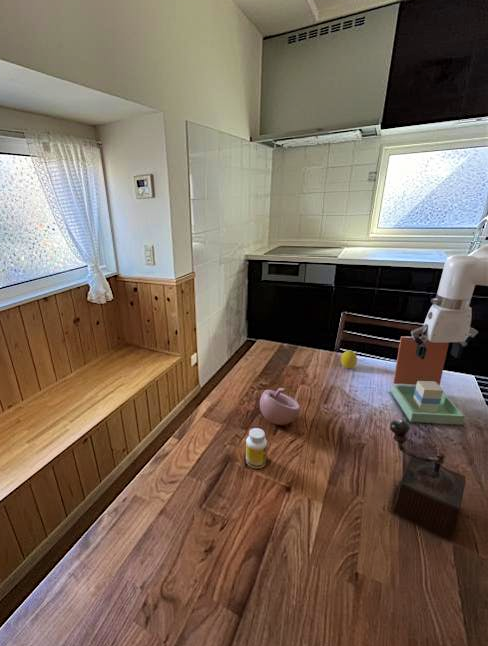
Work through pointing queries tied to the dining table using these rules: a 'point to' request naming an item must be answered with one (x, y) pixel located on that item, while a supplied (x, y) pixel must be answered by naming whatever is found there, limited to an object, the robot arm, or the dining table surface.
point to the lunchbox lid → (419, 362)
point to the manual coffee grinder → (427, 489)
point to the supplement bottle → (256, 448)
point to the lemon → (348, 359)
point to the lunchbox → (444, 414)
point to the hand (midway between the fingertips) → (437, 356)
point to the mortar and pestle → (278, 407)
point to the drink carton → (427, 396)
